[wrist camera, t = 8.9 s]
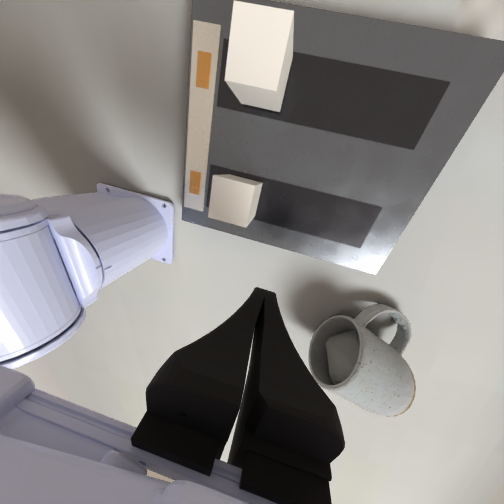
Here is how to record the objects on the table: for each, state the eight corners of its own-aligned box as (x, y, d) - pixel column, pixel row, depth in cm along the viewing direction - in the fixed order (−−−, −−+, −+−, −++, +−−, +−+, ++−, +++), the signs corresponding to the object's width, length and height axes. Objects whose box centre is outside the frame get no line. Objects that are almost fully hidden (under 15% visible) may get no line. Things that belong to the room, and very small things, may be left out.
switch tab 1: (241, 103, 13) (224, 80, 10) (249, 48, 12) (233, 0, 9) (279, 112, 13) (276, 91, 10) (292, 57, 12) (294, 11, 8)
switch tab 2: (224, 208, 17) (207, 217, 13) (229, 174, 16) (212, 175, 12) (255, 216, 17) (246, 227, 13) (262, 182, 15) (255, 185, 12)
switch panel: (191, 215, 20) (181, 220, 19) (205, 12, 14) (191, -15, 12) (367, 265, 19) (376, 275, 17) (486, 63, 12) (524, 42, 10)
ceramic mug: (351, 366, 25) (376, 439, 18) (304, 336, 25) (311, 399, 18) (420, 322, 21) (489, 397, 14) (365, 284, 20) (406, 342, 13)
